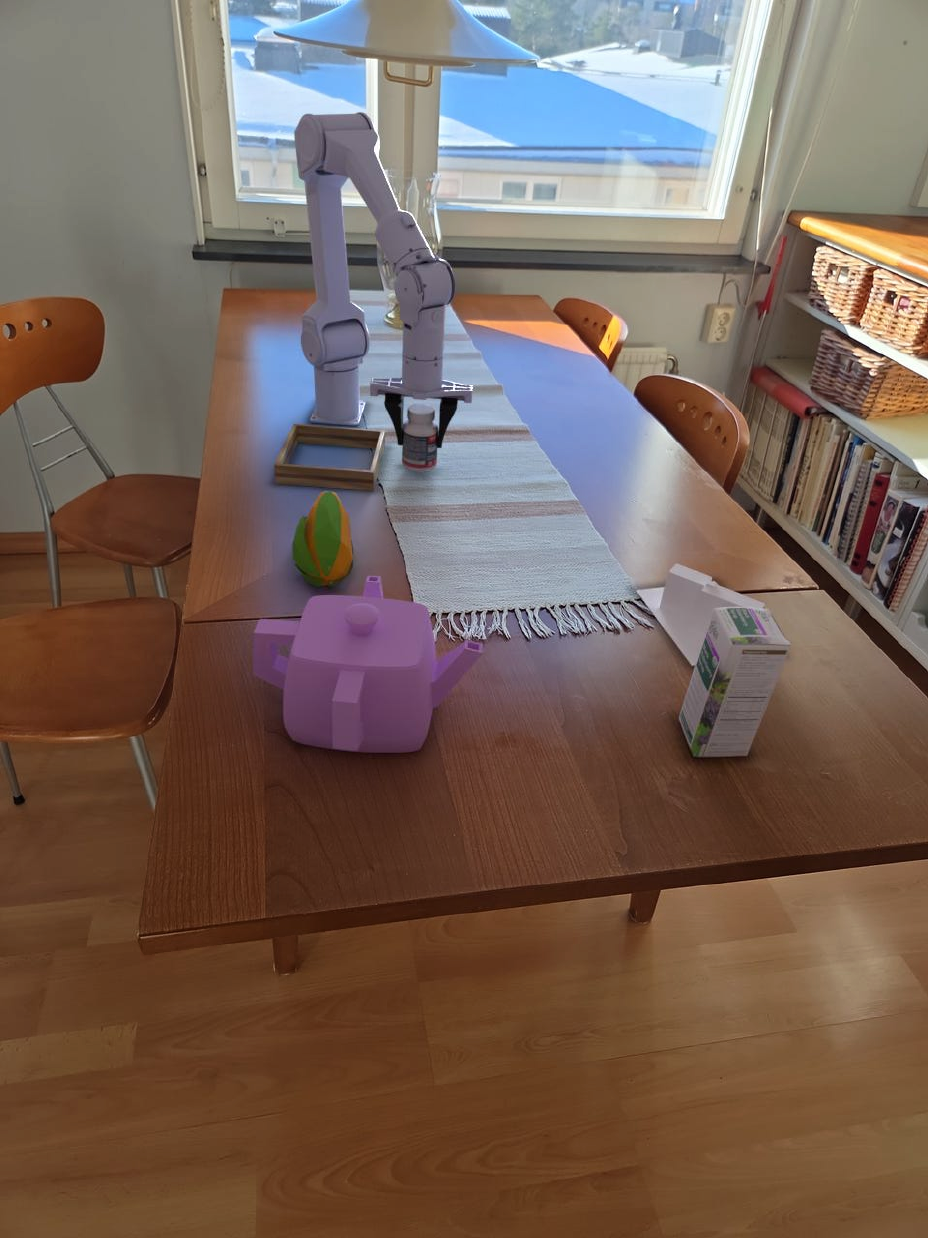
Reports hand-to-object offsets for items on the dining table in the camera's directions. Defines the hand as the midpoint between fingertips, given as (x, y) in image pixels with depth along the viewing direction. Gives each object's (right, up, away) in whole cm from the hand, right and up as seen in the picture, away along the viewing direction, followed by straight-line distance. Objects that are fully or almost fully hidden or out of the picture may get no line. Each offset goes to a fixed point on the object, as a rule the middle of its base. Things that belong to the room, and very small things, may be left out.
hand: (419, 443), depth 126 cm
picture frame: (-13, -3, +2) cm, 14 cm away
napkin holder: (+35, -26, -24) cm, 50 cm away
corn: (-11, -18, -18) cm, 28 cm away
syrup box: (+32, -38, -40) cm, 64 cm away
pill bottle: (0, -3, +2) cm, 4 cm away
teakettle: (-3, -35, -40) cm, 53 cm away
